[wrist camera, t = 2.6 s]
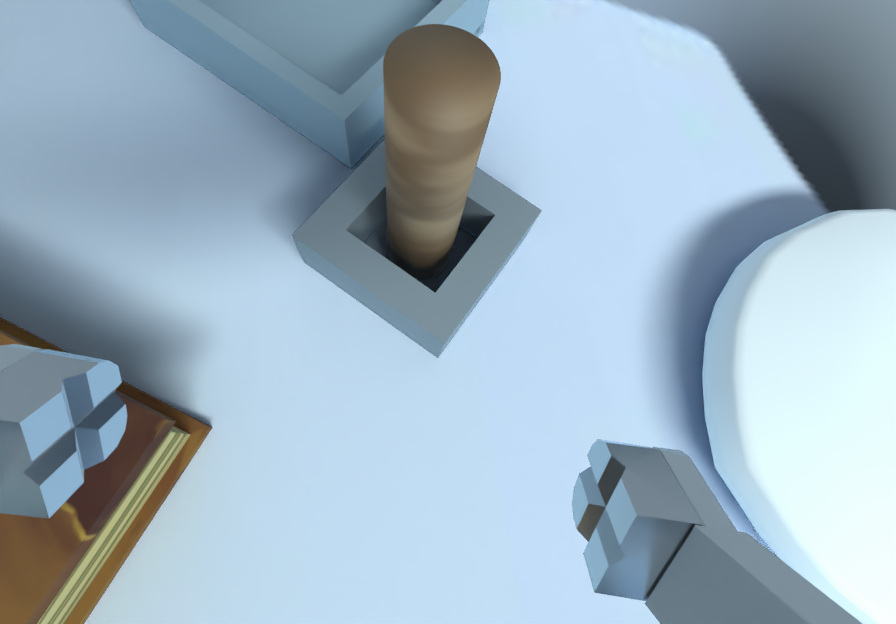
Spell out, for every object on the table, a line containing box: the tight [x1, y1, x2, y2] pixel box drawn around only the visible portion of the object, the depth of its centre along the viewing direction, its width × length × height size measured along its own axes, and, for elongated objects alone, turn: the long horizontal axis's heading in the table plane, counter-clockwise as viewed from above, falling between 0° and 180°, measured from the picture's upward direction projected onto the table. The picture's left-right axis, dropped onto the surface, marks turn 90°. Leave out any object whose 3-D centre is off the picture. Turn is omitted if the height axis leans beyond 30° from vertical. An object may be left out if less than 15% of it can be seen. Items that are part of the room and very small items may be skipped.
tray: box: [130, 0, 489, 168], centre depth 31 cm, size 18×16×4 cm
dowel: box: [383, 24, 501, 279], centre depth 22 cm, size 4×4×14 cm
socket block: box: [292, 139, 542, 358], centre depth 27 cm, size 10×10×4 cm
